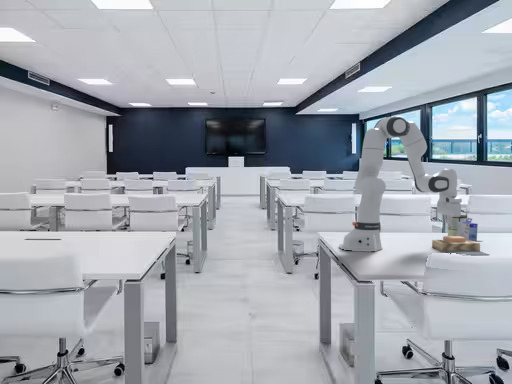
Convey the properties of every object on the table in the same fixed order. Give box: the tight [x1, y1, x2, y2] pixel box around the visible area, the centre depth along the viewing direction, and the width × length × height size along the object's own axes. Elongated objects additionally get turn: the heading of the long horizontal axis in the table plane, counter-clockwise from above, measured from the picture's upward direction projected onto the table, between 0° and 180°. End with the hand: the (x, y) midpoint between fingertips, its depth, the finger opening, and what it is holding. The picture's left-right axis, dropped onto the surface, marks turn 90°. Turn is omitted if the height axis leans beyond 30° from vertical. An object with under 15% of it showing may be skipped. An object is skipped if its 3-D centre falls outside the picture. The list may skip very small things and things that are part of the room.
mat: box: [443, 250, 490, 256], centre depth 210 cm, size 18×10×1 cm, turn 92°
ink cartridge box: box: [457, 217, 479, 242], centre depth 233 cm, size 10×6×14 cm, turn 11°
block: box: [442, 235, 466, 242], centre depth 222 cm, size 9×6×2 cm, turn 92°
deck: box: [431, 239, 481, 252], centre depth 221 cm, size 20×11×4 cm, turn 92°
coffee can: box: [447, 214, 468, 236], centre depth 250 cm, size 10×10×14 cm
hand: (447, 223), depth 229 cm, fingers closed
